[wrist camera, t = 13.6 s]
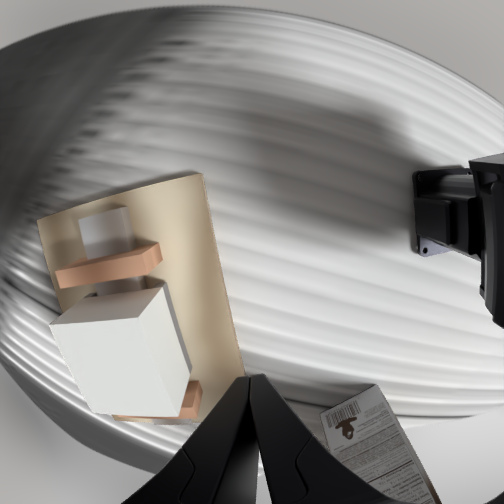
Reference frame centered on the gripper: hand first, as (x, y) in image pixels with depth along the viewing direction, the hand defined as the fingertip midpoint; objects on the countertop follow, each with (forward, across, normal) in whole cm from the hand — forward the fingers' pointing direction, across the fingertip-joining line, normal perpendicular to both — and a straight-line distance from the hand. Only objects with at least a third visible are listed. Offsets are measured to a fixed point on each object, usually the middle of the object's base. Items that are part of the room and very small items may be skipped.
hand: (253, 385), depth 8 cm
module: (+11, +9, +3) cm, 14 cm away
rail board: (+12, +9, +3) cm, 15 cm away
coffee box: (+12, -8, +18) cm, 23 cm away
